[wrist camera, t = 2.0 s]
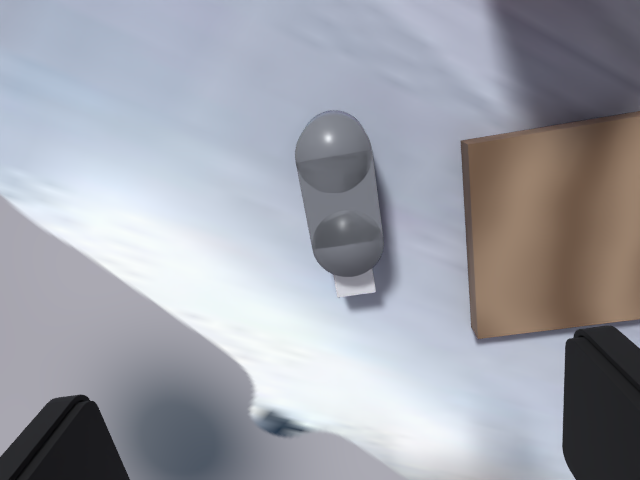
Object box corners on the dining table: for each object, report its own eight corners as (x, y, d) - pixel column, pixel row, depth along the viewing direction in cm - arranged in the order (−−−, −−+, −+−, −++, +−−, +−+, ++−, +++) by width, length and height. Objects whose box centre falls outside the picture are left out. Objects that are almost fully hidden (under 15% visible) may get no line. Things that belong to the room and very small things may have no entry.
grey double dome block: (362, 105, 25) (366, 109, 21) (384, 273, 29) (391, 302, 25) (295, 116, 26) (288, 123, 22) (325, 281, 29) (324, 311, 26)
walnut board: (692, 102, 24) (714, 103, 23) (667, 302, 29) (684, 313, 27) (460, 140, 26) (467, 144, 24) (471, 326, 30) (477, 339, 29)
